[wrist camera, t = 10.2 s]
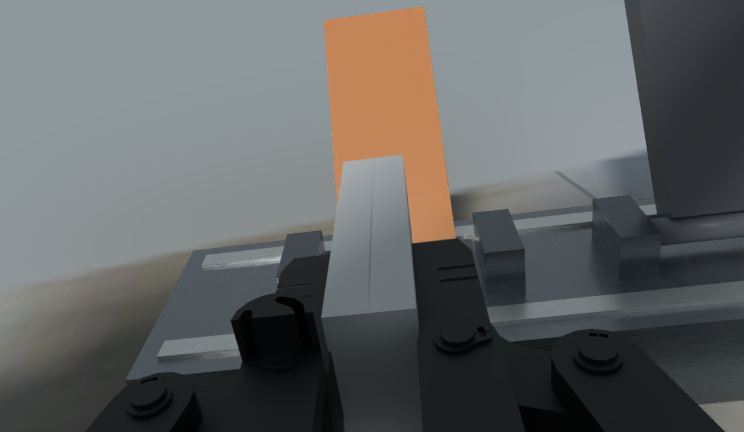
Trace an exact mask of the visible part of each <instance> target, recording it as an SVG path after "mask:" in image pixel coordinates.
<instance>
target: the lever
mask: <svg viewBox="0 0 744 432" xmlns="http://www.w3.org/2000/svg"><path fill="white" fill-rule="evenodd" d="M324 28H325V42H326V56H327V69H328V84H329V98H330V112H331V126H332V138H333V152H334V167H335V181H336V194H337V205H338V198H339V191H340V184H341V177H342V170H343V163H344V162H346V161H354V160H363V159H371V158H380V157H388V156H396V155H403V161H404V170H405V178H406V187H407V195H408V204H409V212H410V221H411V230H412V238H413V243H422V242H431V241H441V240H450V239H456V236H455V229H454V222H453V215H452V207H451V200H450V193H449V186H448V178H447V172H446V164H445V156H444V149H443V142H442V135H441V127H440V120H439V113H438V106H437V98H436V91H435V84H434V77H433V69H432V62H431V55H430V47H429V40H428V33H427V26H426V18H425V11H424V7H417V8H410V9H402V10H395V11H389V12H381V13H373V14H366V15H360V16H352V17H345V18H337V19H330V20H324ZM461 241H462V242H463V243H464V244H465V245H466V246H468V247H469V248H470V249H471V250H472V254H473V258H474V262H475V257H474V249H473V243H472V239H466V240H461Z"/></svg>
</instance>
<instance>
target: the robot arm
mask: <svg viewBox="0 0 744 432" xmlns="http://www.w3.org/2000/svg"><path fill="white" fill-rule="evenodd" d="M230 321H231V325H232V328H233V331H234V335H235V338H236V342H237V345H238V349H239V352H240V356H241V359H242V364H241V367H240V370H239V372H237V373H235V374H234V375H232V376H229V377H227V378H225V379H222V380H220V381H217V382H213V383H210V384H207V385H204V386H201V387H198V388H195V389H194V387H193V384H192V382H191V381H190V380H189V379H188V378H187V377H186V376H185V375H183V374H179V373H175V372H162V373H155V374H152V375H149V376H146V377H143V378H140V379H139V380H137V381H135V382H133V383H132V384H130V385H128V386H126V387H125V388H124V389H123V390H122V391H121V392H120V393H119V394H118V395H116V396H115V397H114V398H113V400H112V401H111V402H110V403H109V404H108V406H107V407H106V408H105V409H104V410H103V412H102V413H101V414H100V415H99V416H98V418H97V419H96V420H95V421H94V422H93V423H92V425H91V426H90V427H89V428H88V429H87V431H86V432H343V426H344V430H345V432H725V431H724V430H723V429H722V428H721V427H720V426H719V425H718V424H717V423H716V422H715V421H714V420H713V419H712V418H711V417H710V416H709V415H708V414H707V413H706V412H705V411H704V410H703V409H702V408H701V407H700V406H699V405H698V404H697V403H696V402H695V401H694V400H693V399H692V398H691V397H690V396H689V395H688V394H687V393H686V392H685V391H684V390H683V389H681V388H680V387H679V386H678V385H677V384H676V383H675V382H674V381H673V380H672V379H671V378H670V377H669V376H668V375H667V374H666V373H665V372H664V371H663V370H662V369H661V368H660V367H659V366H658V365H657V364H656V363H655V362H654V361H653V360H652V359H651V358H650V357H649V356H648V355H647V354H646V353H645V352H644V351H643V350H642V349H641V348H640V347H639V346H638V345H637V344H635V343H634V342H632V341H631V340H630V339H628V338H627V337H625V336H622V335H620V334H617V333H614V332H611V331H607V330H598V329H585V330H577V331H573V332H571V333H568V334H566V335H564V336H561V337H560V339H559V340H558V341H557V342H556V343H555V344H554V345H553V348H552V351H548V350H540V349H533V348H528V347H523V346H519V345H517V344H514V343H512V342H509V341H507V340H506V339H504V338H503V337H501V336H500V335H499V334H498V333H497V331H496V329H495V328H494V326H492V324H491V322H490V319H489V315H488V311H487V308H486V304H485V300H484V296H483V292H482V288H481V285H480V281H479V278H478V273H477V269H476V267H475V262H474V258H473V254H472V250H471V249H470V248H469V247H468V246H466V245H465V244H464V243H463V242H462V241H461V240H459V239H450V240H441V241H431V242H422V243H413V238H412V230H411V221H410V212H409V204H408V195H407V187H406V178H405V170H404V161H403V155H396V156H388V157H380V158H371V159H363V160H354V161H346V162H344V163H343V170H342V177H341V184H340V191H339V198H338V205H337V212H336V218H335V225H334V232H333V239H332V246H331V253H330V254H327V255H318V256H309V257H300V258H294V259H293V260H292V261H291V262H290V263H289V264H288V265H287V266H286V267H285V268H284V269H283V271H282V272H281V274H280V278H279V282H278V285H277V290H276V293H273V294H268V295H264V296H261V297H258V298H256V299H254V300H252V301H249V302H247V303H246V304H245V305H244V306H242V307H241V308H240V309H238V310H237V311H236V313H235V314H234V316H233V317H232V319H231V320H230Z"/></svg>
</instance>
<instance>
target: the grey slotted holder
mask: <svg viewBox="0 0 744 432" xmlns="http://www.w3.org/2000/svg"><path fill="white" fill-rule="evenodd" d="M654 218H657V211H656V205H655V198H652V199H643V200H635V201H634V200H633V199H632V198H631V197H630V196H629V195H626V196H618V197H609V198H600V199H593V205H591V206H582V207H573V208H564V209H555V210H547V211H538V212H529V213H520V214H512V215H510V213H509V210H508V209H504V210H495V211H486V212H478V213H473V219H468V220H459V221H453V222H454V229H455V236H456V239H459V240H466V239H472V243H473V249H474V257H475V267H476V269H477V273H478V278H479V281H480V285H481V288H482V292H483V296H484V300H485V304H486V308H487V311H488V315H489V319H490V322H491V324H492V326H494V328H495V329H496V331H497V333H498V334H499V335H500V336H501V337H503V338H504V339H506V340H507V341H509V342H512V343H514V344H517V345H519V346H523V347H528V348H533V349H540V350H548V351H552V348H553V345H554V344H555V343H556V342H557V341H558V340H559V339H560V337H561V336H564V335H566V334H568V333H571V332H573V331H577V330H585V329H598V330H607V331H611V332H614V333H617V334H620V335H622V336H625V337H627V338H628V339H630V340H631V341H632V342H634V343H635V344H637V345H638V346H639V347H640V348H641V349H642V350H643V351H644V352H645V353H646V354H647V355H648V356H649V357H650V358H651V359H652V360H653V361H654V362H655V363H656V364H657V365H658V366H659V367H660V368H661V369H662V370H663V371H664V372H665V373H666V374H667V375H668V376H669V377H670V378H671V379H672V380H673V381H674V382H675V383H676V384H677V385H678V386H679V387H680V388H681V389H683V390H684V391H685V392H686V393H687V394H688V395H689V396H690V397H691V398H692V399H693V400H694V401H695V402H696V403H697V404H704V403H715V402H726V401H737V400H744V237H739V238H730V239H721V240H712V241H702V242H693V243H684V244H675V245H666V246H661V241H662V233H661V232H660V230H659V229H658V228H657V227H656V226H655V225H654V224H653V222H652V221H651V220H650V219H654ZM332 239H333V235H327V236H322V231H312V232H303V233H294V234H287V238H286V240H283V241H274V242H266V243H257V244H248V245H239V246H230V247H222V248H213V249H204V250H195V251H193V253H192V255H191V257H190V259H189V261H188V263H187V264H186V266H185V268H184V270H183V272H182V274H181V276H180V278H179V280H178V281H177V283H176V285H175V287H174V289H173V291H172V293H171V295H170V297H169V298H168V300H167V302H166V304H165V306H164V308H163V310H162V312H161V314H160V315H159V317H158V319H157V321H156V323H155V325H154V327H153V329H152V331H151V332H150V334H149V336H148V338H147V340H146V342H145V344H144V346H143V348H142V349H141V351H140V353H139V355H138V357H137V359H136V361H135V363H134V365H133V366H132V368H131V370H130V372H129V374H128V376H127V378H126V380H125V381H126V383H127V386H128V385H130V384H132V383H133V382H135V381H137V380H139V379H140V378H143V377H146V376H149V375H152V374H155V373H162V372H175V373H179V374H183V375H185V376H186V377H187V378H188V379H189V380H190V381H191V382H192V384H193V387H194V389H195V388H198V387H201V386H204V385H207V384H210V383H213V382H217V381H220V380H222V379H225V378H227V377H229V376H232V375H234V374H235V373H237V372H239V370H240V367H241V364H242V359H241V356H240V352H239V349H238V345H237V342H236V338H235V335H234V331H233V328H232V325H231V321H230V320H231V319H232V317H233V316H234V314H235V313H236V311H237V310H238V309H240V308H241V307H242V306H244V305H245V304H246V303H247V302H249V301H252V300H254V299H256V298H258V297H261V296H264V295H268V294H273V293H276V290H277V285H278V282H279V278H280V274H281V272H282V271H283V269H284V268H285V267H286V266H287V265H288V264H289V263H290V262H291V261H292V260H293V259H294V258H300V257H309V256H318V255H327V254H330V253H331V246H332ZM343 432H345V430H344V426H343Z"/></svg>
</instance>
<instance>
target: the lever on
mask: <svg viewBox="0 0 744 432" xmlns="http://www.w3.org/2000/svg"><path fill="white" fill-rule="evenodd" d="M624 1H625V8H626V14H627V20H628V27H629V34H630V41H631V47H632V54H633V60H634V67H635V73H636V80H637V86H638V93H639V100H640V106H641V113H642V119H643V125H644V133H645V139H646V145H647V152H648V159H649V165H650V172H651V178H652V185H653V192H654V198H655V205H656V211H657V218H654V219H650V220H651V221H652V222H653V224H654V225H655V226H656V227H657V228H658V229H659V230H660V232H661V233H662V241H661V246H666V245H675V244H684V243H693V242H702V241H712V240H721V239H730V238H739V237H744V0H624Z"/></svg>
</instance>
